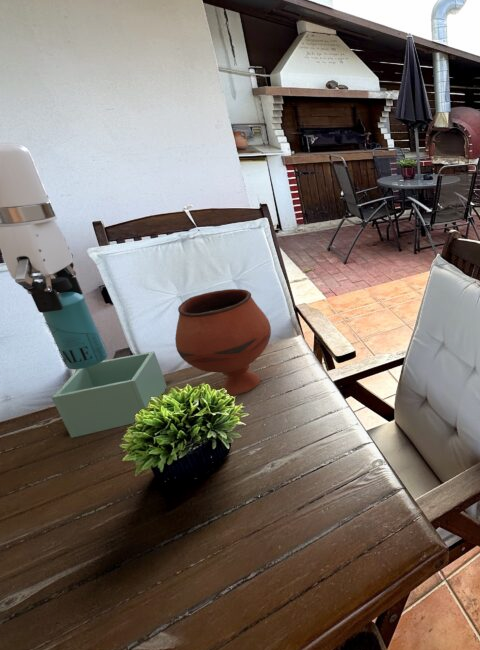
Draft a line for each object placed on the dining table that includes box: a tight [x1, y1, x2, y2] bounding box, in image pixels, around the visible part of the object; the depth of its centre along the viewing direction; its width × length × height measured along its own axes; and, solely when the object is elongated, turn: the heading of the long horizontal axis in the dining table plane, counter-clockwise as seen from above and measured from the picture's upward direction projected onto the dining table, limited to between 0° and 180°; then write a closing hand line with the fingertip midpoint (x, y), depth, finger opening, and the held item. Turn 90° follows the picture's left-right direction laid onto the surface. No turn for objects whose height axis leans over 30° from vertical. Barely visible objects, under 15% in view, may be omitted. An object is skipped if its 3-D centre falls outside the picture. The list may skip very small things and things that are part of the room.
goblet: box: [174, 288, 272, 396], centre depth 100 cm, size 19×19×25 cm
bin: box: [51, 351, 168, 439], centre depth 94 cm, size 14×14×11 cm
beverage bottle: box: [39, 277, 108, 370], centre depth 80 cm, size 6×7×20 cm
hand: (62, 302), depth 79 cm, fingers closed on beverage bottle, 6 cm apart
